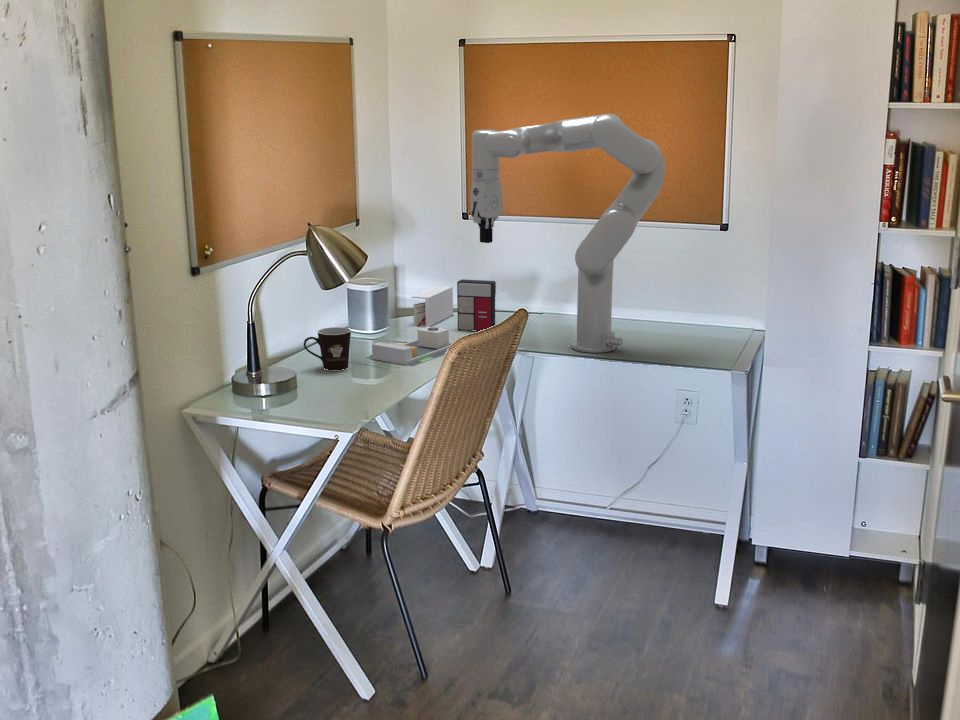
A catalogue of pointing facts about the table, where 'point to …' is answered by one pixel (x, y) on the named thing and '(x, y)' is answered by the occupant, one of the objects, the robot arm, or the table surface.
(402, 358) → the board
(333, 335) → the coffee mug
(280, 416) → the table surface
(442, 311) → the cigarette display
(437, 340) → the block
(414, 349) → the orange rectangular block
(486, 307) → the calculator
